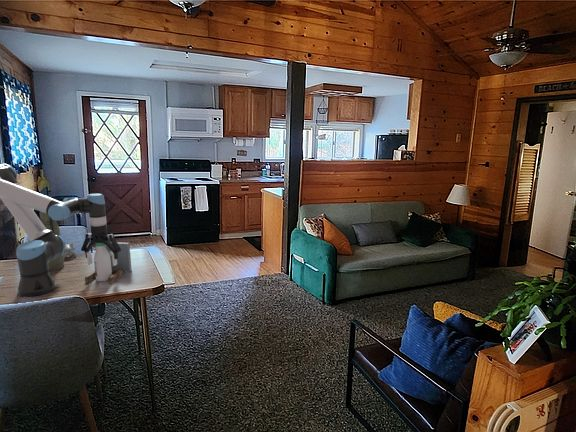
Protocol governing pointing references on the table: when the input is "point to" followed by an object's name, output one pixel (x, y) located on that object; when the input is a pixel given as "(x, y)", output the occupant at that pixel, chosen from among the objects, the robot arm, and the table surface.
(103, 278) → the milk bottle
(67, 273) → the table surface
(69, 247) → the gray elephant figurine
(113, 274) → the notch cradle
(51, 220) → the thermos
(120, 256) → the wall panel
